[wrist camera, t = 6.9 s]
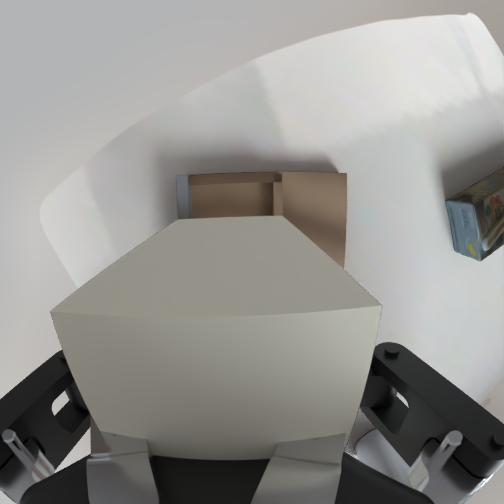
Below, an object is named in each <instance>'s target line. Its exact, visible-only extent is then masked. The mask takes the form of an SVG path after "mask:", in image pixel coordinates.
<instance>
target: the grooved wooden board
mask: <svg viewBox="0 0 504 504" xmlns="http://www.w3.org/2000/svg"><path fill="white" fill-rule="evenodd" d="M176 188H177V207H178V220H179V219H198V218H220V217H247V216H283V217H284V218H286V219H287V220H288V221H289V222H290V223H292V224H293V225H294V226H295V227H296V228H297V229H299V230H300V231H301V232H302V233H303V234H304V235H305V236H307V237H308V238H309V239H310V240H311V241H312V242H314V243H315V244H316V245H317V246H318V247H319V248H320V249H322V250H323V251H324V252H325V253H326V254H327V255H328V256H329V257H331V258H332V259H333V260H334V261H335V262H336V263H337V264H338V265H339V266H341V267H342V268H343V269H344V259H345V241H346V210H347V173H329V172H241V173H217V174H199V175H176Z"/></svg>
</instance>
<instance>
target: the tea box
mask: <svg viewBox="0 0 504 504" xmlns="http://www.w3.org/2000/svg"><path fill="white" fill-rule="evenodd" d="M381 310H382V304H381V303H379V302H378V301H377V300H376V299H375V298H374V297H373V296H372V295H371V294H370V293H369V292H368V291H367V290H366V289H365V288H363V287H362V286H361V285H360V284H359V283H358V282H357V281H356V280H355V279H354V278H353V277H352V276H350V275H349V274H348V273H347V272H346V271H345V270H344V269H343V268H342V267H341V266H339V265H338V264H337V263H336V262H335V261H334V260H333V259H332V258H331V257H329V256H328V255H327V254H326V253H325V252H324V251H323V250H322V249H320V248H319V247H318V246H317V245H316V244H315V243H314V242H312V241H311V240H310V239H309V238H308V237H307V236H305V235H304V234H303V233H302V232H301V231H300V230H299V229H297V228H296V227H295V226H294V225H293V224H292V223H290V222H289V221H288V220H287V219H286V218H284V217H283V216H247V217H220V218H198V219H179V220H176V221H174V222H173V223H171V224H170V225H168V226H167V227H165V228H164V229H162V230H161V231H159V232H158V233H156V234H155V235H153V236H152V237H150V238H149V239H147V240H146V241H144V242H143V243H141V244H140V245H138V246H137V247H135V248H134V249H133V250H131V251H130V252H128V253H127V254H125V255H124V256H123V257H121V258H120V259H118V260H117V261H116V262H114V263H113V264H111V265H110V266H109V267H107V268H106V269H104V270H103V271H102V272H100V273H99V274H98V275H96V276H95V277H94V278H92V279H91V280H90V281H88V282H87V283H86V284H84V285H83V286H82V287H80V288H79V289H78V290H76V291H75V292H74V293H73V294H71V295H70V296H69V297H67V298H66V299H65V300H64V301H62V302H61V303H60V304H58V305H57V306H56V307H55V308H53V309H52V310H51V311H50V313H51V316H52V320H53V323H54V326H55V329H56V332H57V335H58V338H59V341H60V344H61V347H62V350H63V352H64V355H65V358H66V360H67V363H68V365H69V368H70V370H71V373H72V375H73V377H74V380H75V382H76V384H77V387H78V389H79V391H80V393H81V395H82V397H83V399H84V402H85V404H86V406H87V408H88V410H89V412H90V413H91V415H92V417H93V419H94V421H95V423H96V425H97V427H98V428H99V430H100V431H103V432H108V433H112V435H115V436H118V435H123V436H129V437H135V438H142V439H146V440H147V442H148V444H149V446H150V448H151V450H152V452H153V455H157V456H165V457H175V458H186V459H203V460H254V459H271V458H272V456H273V455H274V454H275V452H276V450H277V447H278V445H279V442H287V441H296V440H304V439H312V440H316V439H319V438H320V437H325V436H331V435H336V434H341V433H346V435H345V442H344V449H343V452H344V451H345V448H346V445H347V443H348V440H349V437H350V434H351V431H352V428H353V425H354V422H355V419H356V416H357V413H358V409H359V406H360V403H361V399H362V396H363V392H364V389H365V385H366V381H367V377H368V373H369V369H370V365H371V361H372V356H373V352H374V347H375V342H376V338H377V332H378V327H379V322H380V316H381Z"/></svg>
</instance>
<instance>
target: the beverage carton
mask: <svg viewBox="0 0 504 504" xmlns="http://www.w3.org/2000/svg"><path fill="white" fill-rule="evenodd" d="M446 207H447V211H448V215H449V220H450V225H451V230H452V236H453V243H454V249H455V251H456V252H458V253H461V254H462V255H465V256H468V257H471V258H473V259H475V260H478V261H482V260H483V259H484V258H486V257H487V256H489V255H490V254H492V253H493V252H494V251H495V250H497V249H498V248H500V247H501V246H502V245H503V244H504V168H502V169H501V170H499V171H497V172H495V173H494V174H492V175H490V176H488V177H487V178H485V179H483V180H481V181H480V182H478V183H476V184H474V185H473V186H471V187H469V188H467V189H465V190H464V191H462V192H460V193H459V194H457V195H456V196H454V197H452V198H450V199H448V200H446Z"/></svg>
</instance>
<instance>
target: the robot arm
mask: <svg viewBox="0 0 504 504" xmlns="http://www.w3.org/2000/svg"><path fill="white" fill-rule="evenodd" d="M64 390H65V392H66V394H67V396H68V398H69V401H68V403H66V404H65V405H64V407H63V408H62V409H61V410H60V411H59V412H58V413H57V414H56V415H55V416H54V414H53V412H52V403H53V402H54V400H55V399H56V398H57V397H58V396H59V395H60V394H61V393H62V392H63V391H64ZM397 392H399V393H400V394H401V395H402V396H403V397H404V398H405V399H406V401H407V402H408V406H409V408H408V407H407V406H406V405H405V404H404V403H403V402H402V401H401V400H400V399H399V398H398V397H397V396H396V395H397ZM359 407H360V408H361V410H362V412H363V413H364V414H365V415H366V416H367V418H368V419H369V420H370V421H371V422H372V424H373V425H374V426H375V427H376V429H374V430H372V431H371V432H369V433H367V434H366V435H365V436H363V437H362V438H361V439H360V440H359V441H358V443H357V444H356V446H355V451H356V453H357V456H358V458H359V460H357V459H356V458H354V457H352V456H350V455H349V454H347V453H345V452H343V449H344V442H345V435H346V433H341V434H336V435H331V436H325V437H320V438H319V439H316V440H312V439H304V440H296V441H287V442H279V445H278V447H277V450H276V452H275V454H274V455H273V456H272V458H271V459H254V460H203V459H186V458H175V457H165V456H157V455H153V452H152V450H151V448H150V446H149V444H148V442H147V440H146V439H142V438H135V437H129V436H123V435H118V436H115V435H112V433H108V432H103V431H100V430H99V428H98V427H97V425H96V423H95V421H94V419H93V417H92V415H91V413H90V412H89V410H88V408H87V406H86V404H85V402H84V399H83V397H82V395H81V393H80V391H79V389H78V387H77V384H76V382H75V380H74V377H73V375H72V373H71V370H70V368H69V365H68V363H67V360H66V358H65V355H64V352H63V350H61V351H59V352H57V353H56V354H55V355H53V356H52V357H51V358H49V359H48V360H47V361H46V362H45V363H43V364H42V365H41V366H40V367H38V368H37V369H36V370H35V371H33V372H32V373H31V374H30V375H29V376H27V377H26V378H25V379H24V380H23V381H21V382H20V383H19V384H18V385H17V386H15V387H14V388H13V389H12V390H11V391H9V393H7V394H6V395H5V396H4V397H3V398H1V399H0V490H1V491H2V492H4V494H6V495H7V496H8V497H9V498H10V499H11V500H12V501H14V502H15V503H17V504H464V503H465V502H466V501H467V500H468V499H469V498H470V497H472V496H473V495H474V494H475V493H476V492H477V491H478V490H479V489H480V488H481V487H482V486H483V485H484V484H485V483H486V482H487V481H488V480H489V479H490V478H491V477H492V476H493V475H494V474H495V473H496V472H497V471H498V470H499V468H500V467H501V466H502V465H503V464H504V424H503V423H502V422H500V421H499V420H498V419H497V418H496V417H494V416H493V415H492V414H490V413H489V412H488V411H487V410H485V409H484V408H483V407H482V406H480V405H479V404H478V403H477V402H475V401H474V400H473V399H472V398H470V397H469V396H468V395H466V394H465V393H464V392H463V391H461V390H460V389H459V388H457V387H456V386H455V385H454V384H452V383H451V382H450V381H448V380H447V379H446V378H445V377H443V376H442V375H441V374H439V373H438V372H437V371H435V370H434V369H433V368H432V367H430V366H429V365H428V364H426V363H425V362H424V361H422V360H421V359H420V358H419V357H417V356H416V355H415V354H413V353H412V352H411V351H409V350H408V349H407V348H405V347H404V346H402V345H400V344H397V343H392V342H386V343H381V344H378V345H377V346H376V347H375V348H374V352H373V356H372V361H371V365H370V369H369V373H368V377H367V381H366V385H365V389H364V392H363V396H362V399H361V403H360V406H359ZM90 426H91V454H89V455H88V456H86V457H84V458H82V459H81V460H79V461H77V462H75V463H73V464H71V465H70V466H68V467H66V468H64V469H62V470H60V471H59V472H57V473H55V474H54V472H55V470H56V469H57V467H58V466H59V465H60V464H61V462H62V461H63V460H64V459H65V457H66V456H67V455H68V453H69V452H70V451H71V450H72V449H73V447H74V446H75V445H76V444H77V442H78V441H79V440H80V439H81V437H82V436H83V435H84V434H85V432H86V431H87V430H88V429H89V428H90Z"/></svg>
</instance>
